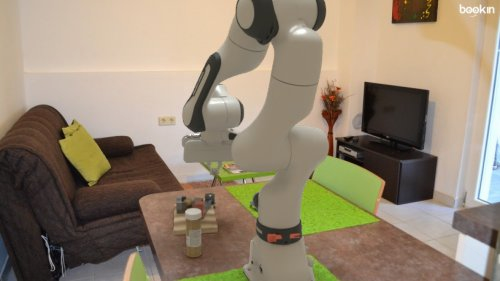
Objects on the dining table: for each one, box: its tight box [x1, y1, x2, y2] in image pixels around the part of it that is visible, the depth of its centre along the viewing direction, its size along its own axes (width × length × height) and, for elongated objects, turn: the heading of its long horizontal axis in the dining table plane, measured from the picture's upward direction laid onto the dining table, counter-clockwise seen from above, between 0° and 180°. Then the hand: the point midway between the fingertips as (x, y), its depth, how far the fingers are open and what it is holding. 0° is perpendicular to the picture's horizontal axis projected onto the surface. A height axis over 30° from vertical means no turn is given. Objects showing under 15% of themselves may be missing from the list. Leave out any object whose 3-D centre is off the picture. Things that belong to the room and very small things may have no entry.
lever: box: [192, 192, 216, 219], centre depth 142 cm, size 16×6×5 cm, turn 170°
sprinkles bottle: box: [185, 208, 203, 258], centre depth 113 cm, size 5×5×14 cm
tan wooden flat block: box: [173, 195, 219, 236], centre depth 138 cm, size 23×15×6 cm, turn 10°
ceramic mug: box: [249, 190, 260, 211], centre depth 148 cm, size 11×8×8 cm
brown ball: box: [183, 197, 193, 208], centre depth 142 cm, size 4×4×4 cm
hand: (214, 174), depth 133 cm, fingers closed
